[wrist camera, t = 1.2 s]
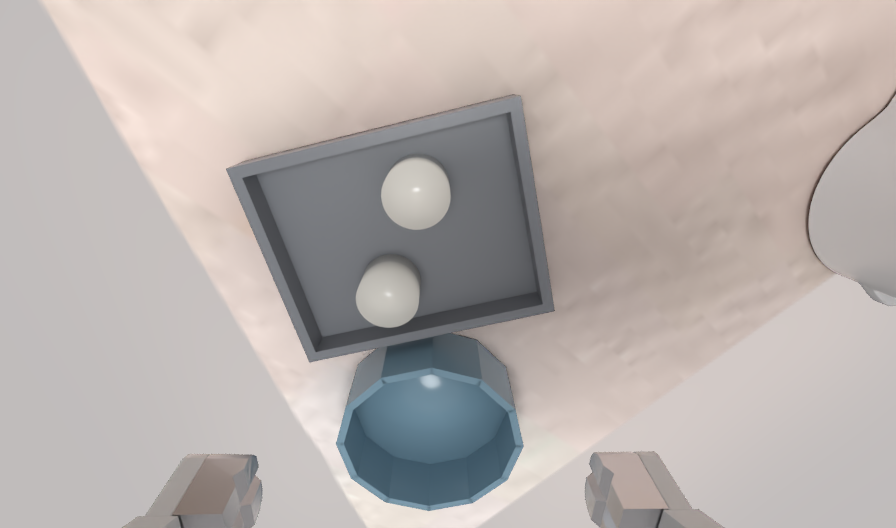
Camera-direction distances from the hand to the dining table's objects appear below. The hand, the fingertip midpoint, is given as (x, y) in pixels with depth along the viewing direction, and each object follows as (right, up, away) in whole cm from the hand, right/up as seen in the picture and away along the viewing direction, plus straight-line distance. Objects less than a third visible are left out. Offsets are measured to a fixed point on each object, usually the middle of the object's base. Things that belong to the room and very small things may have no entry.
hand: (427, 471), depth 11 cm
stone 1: (-2, +11, +21) cm, 24 cm away
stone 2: (-4, +4, +24) cm, 25 cm away
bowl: (-1, -8, +30) cm, 31 cm away
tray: (-3, +8, +24) cm, 25 cm away
